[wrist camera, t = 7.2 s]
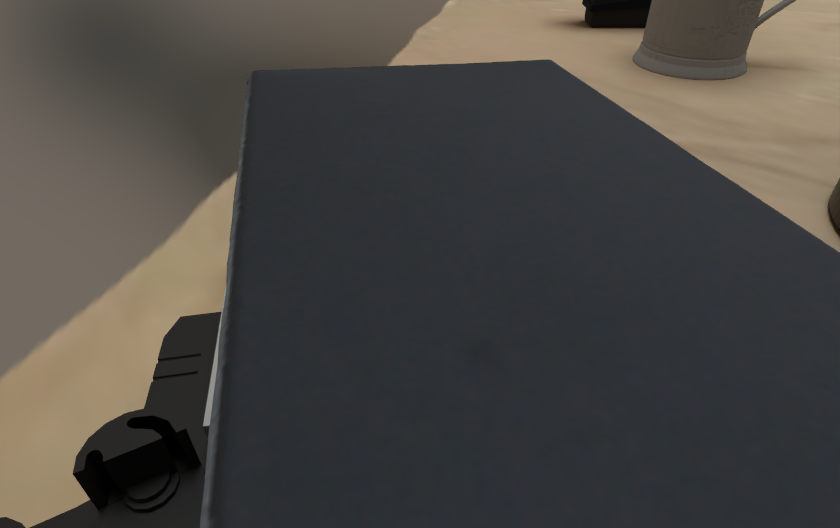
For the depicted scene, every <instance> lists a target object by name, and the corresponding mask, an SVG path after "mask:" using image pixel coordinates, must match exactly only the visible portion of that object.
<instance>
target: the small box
mask: <svg viewBox="0 0 840 528" xmlns="http://www.w3.org/2000/svg"><path fill="white" fill-rule="evenodd" d="M200 528H840V253H839V252H838V251H836V250H835V249H833V248H832V247H830V246H829V245H827V244H826V243H824V242H823V241H821V240H820V239H818V238H817V237H815V236H814V235H812V234H811V233H809V232H808V231H806V230H805V229H803V228H802V227H800V226H799V225H797V224H796V223H794V222H793V221H791V220H790V219H788V218H787V217H785V216H784V215H782V214H781V213H779V212H778V211H776V210H775V209H773V208H772V207H770V206H769V205H767V204H766V203H764V202H763V201H761V200H760V199H758V198H757V197H755V196H754V195H752V194H751V193H749V192H748V191H746V190H745V189H743V188H742V187H740V186H739V185H737V184H736V183H734V182H733V181H731V180H729V179H728V178H726V177H725V176H723V175H722V174H720V173H719V172H717V171H716V170H714V169H712V168H711V167H709V166H708V165H706V164H705V163H703V162H702V161H700V160H699V159H697V158H696V157H694V156H693V155H691V154H690V153H688V152H687V151H686V150H684V149H683V148H681V147H680V146H678V145H677V144H675V143H674V142H673V141H671V140H670V139H668V138H667V137H665V136H664V135H662V134H661V133H659V132H658V131H656V130H655V129H653V128H652V127H650V126H649V125H647V124H646V123H644V122H643V121H641V120H639V119H638V118H636V117H635V116H633V115H632V114H630V113H629V112H627V111H626V110H625V109H623V108H622V107H620V106H619V105H617V104H616V103H614V102H613V101H611V100H610V99H608V98H607V97H605V96H604V95H602V94H601V93H599V92H598V91H596V90H595V89H593V88H592V87H590V86H589V85H587V84H586V83H584V82H583V81H581V80H580V79H578V78H577V77H575V76H574V75H572V74H571V73H569V72H568V71H566V70H565V69H563V68H562V67H560V66H559V65H557V64H556V63H555V62H553V61H552V60H532V61H511V62H491V63H469V64H439V65H414V66H407V65H403V66H380V67H377V66H376V67H352V68H325V69H324V68H323V69H291V70H259V71H253V72H252V73H251V75H250V76H249V78H248V81H247V92H246V101H245V109H244V118H243V124H242V139H241V144H240V154H239V164H238V174H237V180H236V187H235V195H234V202H233V216H232V225H231V233H230V248H229V255H228V262H227V286H226V295H225V301H224V307H223V314H222V320H221V329H220V337H219V348H218V364H217V373H216V380H215V388H214V395H213V403H212V411H211V419H210V427H209V435H208V447H207V459H206V471H205V483H204V492H203V501H202V509H201V517H200Z"/></svg>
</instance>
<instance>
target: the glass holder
mask: <svg viewBox="0 0 840 528" xmlns="http://www.w3.org/2000/svg"><path fill="white" fill-rule="evenodd" d="M794 1H796V0H783V1H782V2H780V3H779V4H777V5H776V6H774V7H773V8H771V9H770V10H768V11H767V12H765V13H764V14H762V15H761V16H760V17H758V16H759V13H760V11H761V8H762V5H763V2H764V0H652V2H651V6H650V10H649V15H648V19H647V23H646V28H645V32H644V36H643V41H642V42H641V45H640V47H639V49H638V50H637V51H636V53H635V54H634V56H633V61H634V63H636V64H637V65H638V66H640V67H642V68H644V69H646V70H649V71H652V72H655V73H659V74H663V75H667V76H672V77H678V78H686V79H697V80H721V79H730V78H735V77H738V76H741V75H743V74H744V73H745V72H746V70H747V63H746V59H745V58H746V53H747V52H746V51H747V48H748V45H749V43H750V40H751V37H752V34H753V31H754V30H755V29H756V28H757V27H758V26H759V25H760V24H762V23H763V22H764V21H766V20H767V19H769V18H770V17H771V16H773V15H774V14H776V13H777V12H779V11H780V10H782V9H783V8H785V7H786V6H788V5H790V4H791V3H793V2H794Z"/></svg>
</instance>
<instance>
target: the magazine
mask: <svg viewBox="0 0 840 528" xmlns="http://www.w3.org/2000/svg"><path fill="white" fill-rule="evenodd" d="M651 2H652V0H583V2H582V4H583V5H584V6H585V7H586V12H585V21H586V22H587V23H588V24H589V26H591V27H646V23H647V19H648V15H649V10H650V6H651Z"/></svg>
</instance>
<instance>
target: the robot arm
mask: <svg viewBox="0 0 840 528" xmlns="http://www.w3.org/2000/svg"><path fill="white" fill-rule="evenodd" d="M829 208H830V213H831V216H832V218H833V220H834V222H835V224H836V226H837V227H838V228H839V230H840V178H839V180H838V182H837V184H836V186H835V188H834V190H833V192H832V194H831V197H830V201H829ZM226 286H227V282H226ZM225 295H226V288H225V294H224V300H223V306H222V312H216V313H208V314H200V315H192V316H183V317H180V318H179V319H178V321H177V322H176V323H175V324H174V326H173V327H172V328H171V329H170V330H169V332H168V333H167V334H166V335H165V337H164V339H163V342H162V346H161V350H160V353H159V357H158V363H157V364H156V368H155V371H154V375H153V382H151V386H150V389H149V393H148V397H147V400H146V404H145V407H144V409H141V410H137V411H132V412H128V413H125V414H123V415H121V416H119V417H117V418H115V419H113V420H111V421H110V422H108V423H106V424H105V425H103V426H102V427H101V428H100V429H99V430H98V431H96V432H95V433H94V434H93V435H92V436H91V437H89V438H88V440H87V441H86V443H85V444H84V446H83V447H82V449H81V450H80V452H79V453H78V455H77V456H76V461H75V466H74V471H73V475H74V476H75V478H76V479H77V481H78V482H79V484H80V485H81V486H82V488H83V489H84V491H85V492H86V494H87V495H88V497H89V498H90V499H91V500H89V501H87V502H85V503H83V504H81V505H80V506H78V507H76V508H74V509H71V510H69V511H67V512H64V513H62V514H60V515H58V516H55V517H53V518H51V519H49V520H46V521H44V522H42V523H39V524H37V525H35V526H33V527H30V528H200V517H201V509H202V501H203V492H204V483H205V471H206V459H207V447H208V435H209V427H210V419H211V411H212V403H213V395H214V388H215V380H216V373H217V364H218V348H219V337H220V329H221V320H222V314H223V307H224V301H225ZM0 528H25V527H24V526H23V524H22V523H20V522H17V521H14V520H12V519H9V518H7V517H3V518H0Z"/></svg>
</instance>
